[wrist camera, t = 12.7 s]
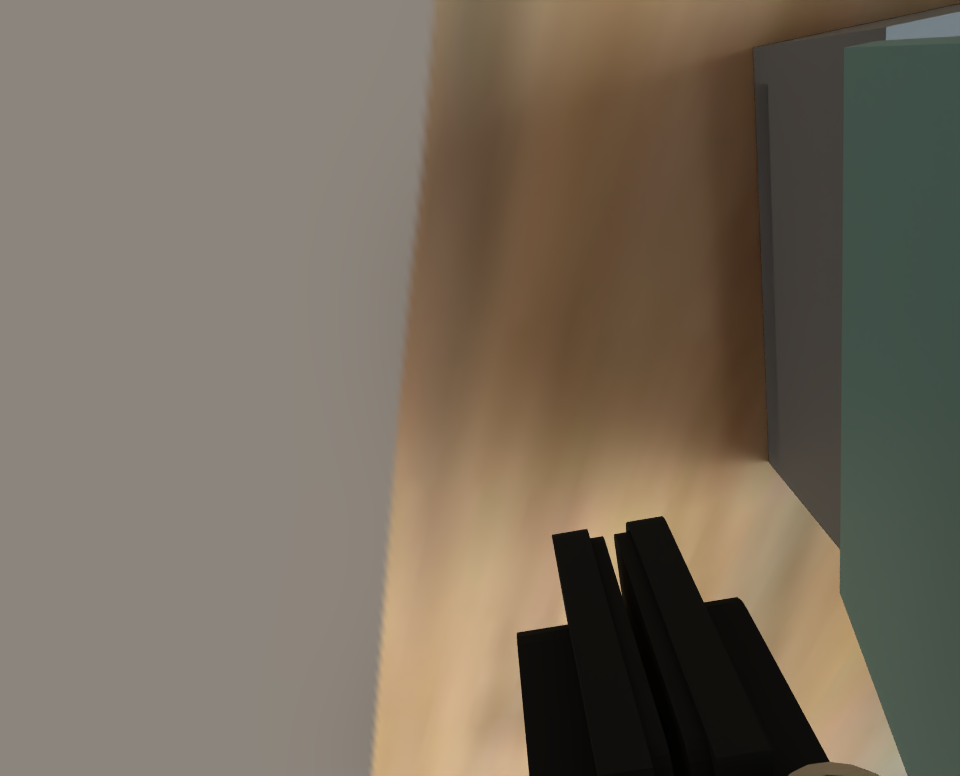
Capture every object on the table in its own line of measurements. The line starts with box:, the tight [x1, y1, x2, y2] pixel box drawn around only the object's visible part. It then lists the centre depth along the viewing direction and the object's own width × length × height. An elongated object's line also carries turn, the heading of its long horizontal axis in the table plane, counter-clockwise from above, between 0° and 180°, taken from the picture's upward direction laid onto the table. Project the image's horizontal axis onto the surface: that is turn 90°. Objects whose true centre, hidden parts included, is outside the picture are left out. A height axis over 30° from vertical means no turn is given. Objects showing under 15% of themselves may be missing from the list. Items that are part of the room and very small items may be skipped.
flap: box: [840, 36, 960, 776], centre depth 12 cm, size 14×10×1 cm
